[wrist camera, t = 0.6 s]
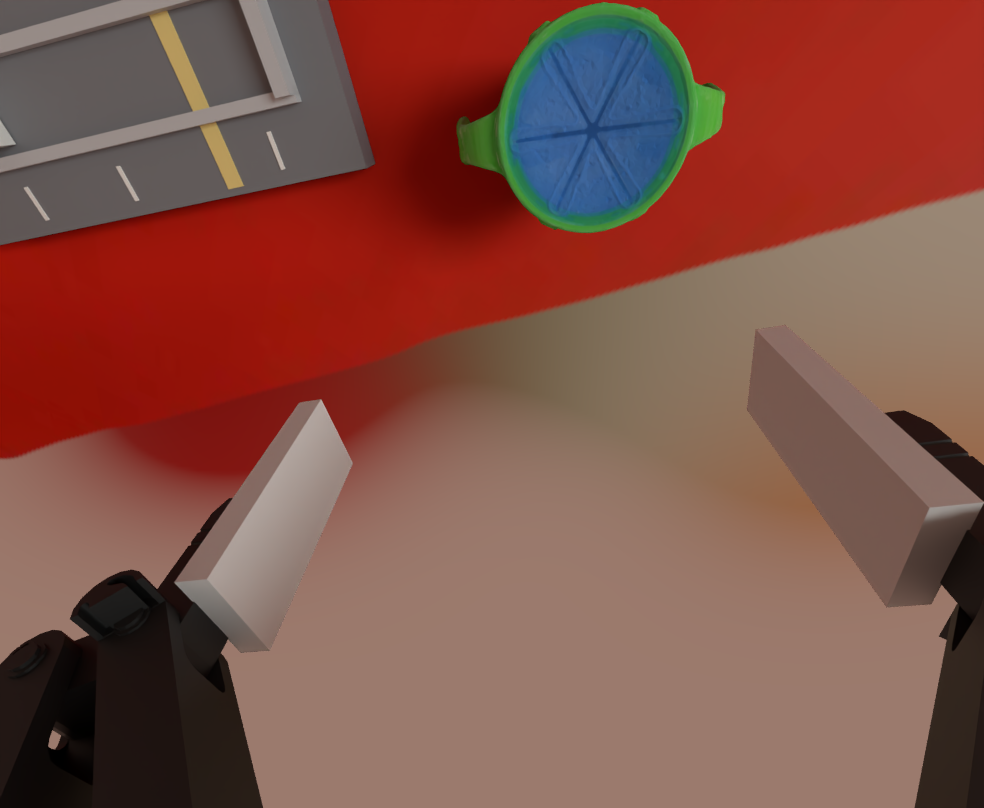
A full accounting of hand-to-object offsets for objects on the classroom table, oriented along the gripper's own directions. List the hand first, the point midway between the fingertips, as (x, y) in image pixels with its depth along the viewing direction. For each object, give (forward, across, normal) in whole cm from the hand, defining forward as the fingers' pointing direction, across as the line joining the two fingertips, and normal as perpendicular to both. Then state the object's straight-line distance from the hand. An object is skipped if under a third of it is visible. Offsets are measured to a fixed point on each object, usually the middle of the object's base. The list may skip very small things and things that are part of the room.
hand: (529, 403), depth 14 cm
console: (+27, -26, +14) cm, 40 cm away
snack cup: (+27, +5, +5) cm, 28 cm away
